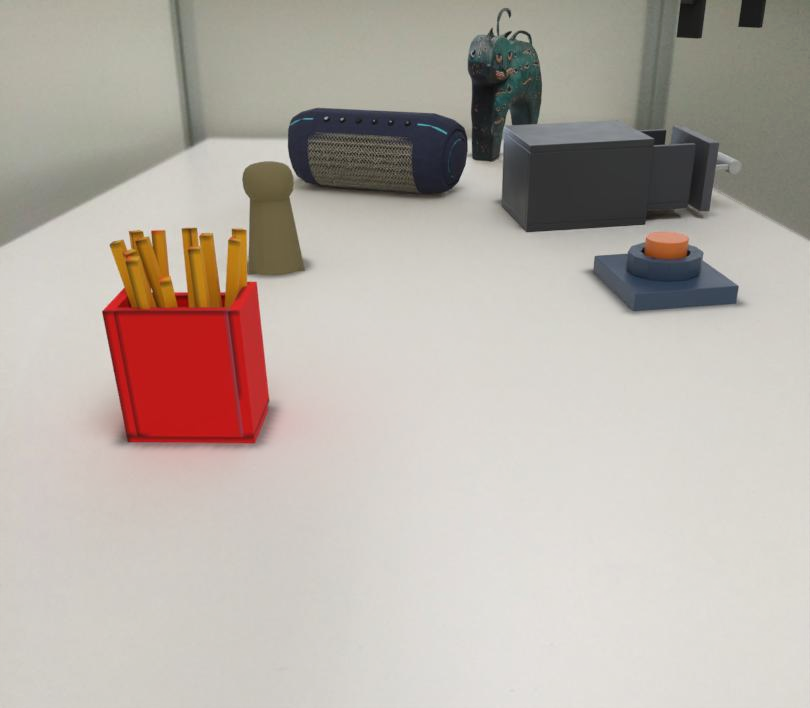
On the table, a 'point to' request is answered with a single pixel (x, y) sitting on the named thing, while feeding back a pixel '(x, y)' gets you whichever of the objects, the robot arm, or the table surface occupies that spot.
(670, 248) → the button
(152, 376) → the french fries container
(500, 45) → the green animal figurine
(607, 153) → the grey box
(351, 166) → the portable speaker
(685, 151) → the drawer
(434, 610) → the table surface
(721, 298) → the control block
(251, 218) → the cork
